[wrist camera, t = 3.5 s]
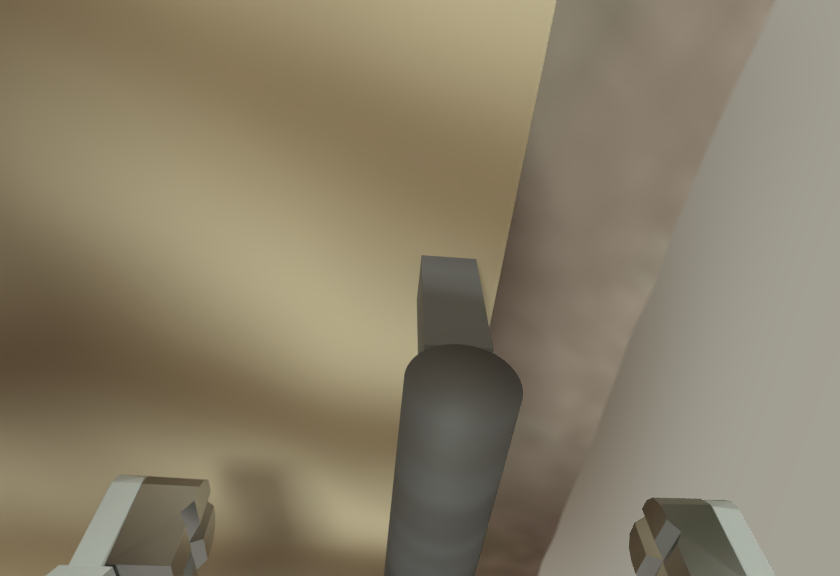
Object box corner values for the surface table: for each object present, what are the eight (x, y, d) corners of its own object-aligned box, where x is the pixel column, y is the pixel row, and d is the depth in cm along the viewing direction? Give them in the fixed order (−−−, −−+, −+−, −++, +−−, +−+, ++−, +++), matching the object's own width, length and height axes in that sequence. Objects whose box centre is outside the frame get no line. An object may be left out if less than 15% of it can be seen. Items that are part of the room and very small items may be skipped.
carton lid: (430, 593, 18) (436, 779, 14) (13, 580, 17) (-101, 775, 13) (558, -61, 8) (700, -30, 4) (-438, -170, 7) (-1441, -259, 3)
